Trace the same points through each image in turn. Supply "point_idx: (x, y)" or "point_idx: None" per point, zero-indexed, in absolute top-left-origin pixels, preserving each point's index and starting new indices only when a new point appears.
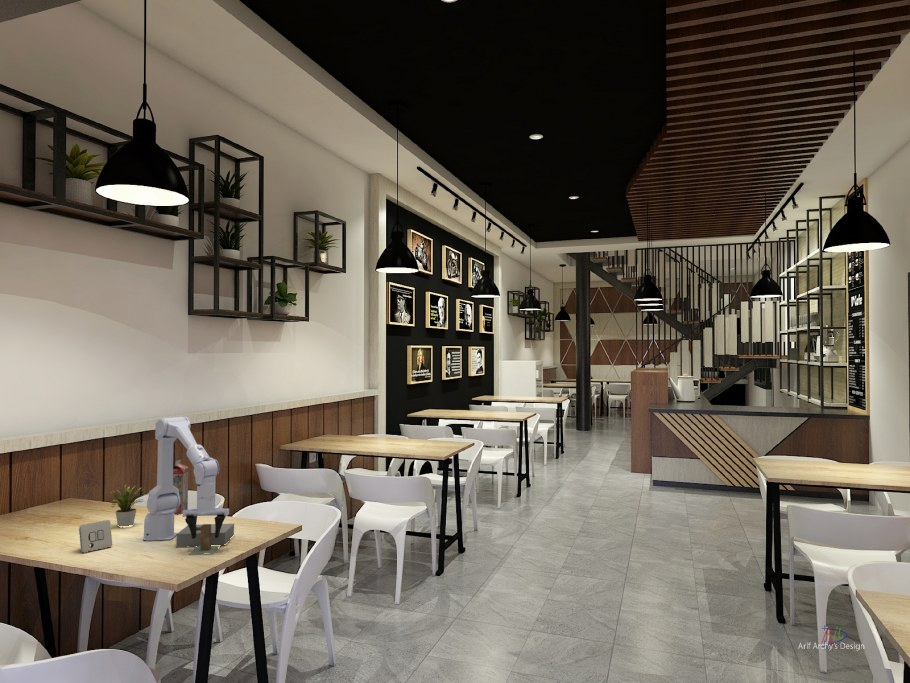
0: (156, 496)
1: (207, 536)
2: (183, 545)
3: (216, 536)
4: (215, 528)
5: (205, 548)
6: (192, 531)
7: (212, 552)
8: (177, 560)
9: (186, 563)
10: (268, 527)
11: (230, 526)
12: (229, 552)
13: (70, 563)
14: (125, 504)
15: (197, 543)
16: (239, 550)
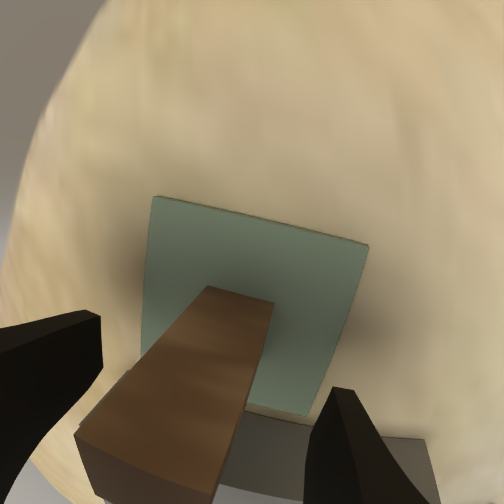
0: None
1: (165, 351)
2: (389, 445)
3: (78, 314)
4: (12, 346)
5: (227, 297)
6: (362, 447)
7: (167, 207)
8: (442, 112)
9: (354, 6)
10: (63, 480)
11: (107, 501)
12: (72, 204)
13: None
14: None
15: (301, 440)
16: (36, 231)
